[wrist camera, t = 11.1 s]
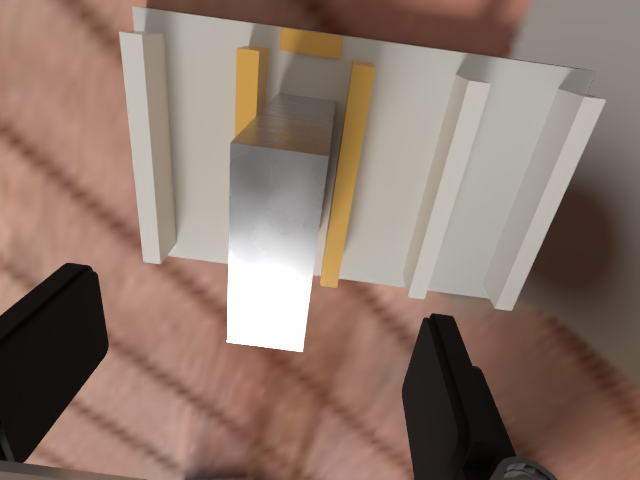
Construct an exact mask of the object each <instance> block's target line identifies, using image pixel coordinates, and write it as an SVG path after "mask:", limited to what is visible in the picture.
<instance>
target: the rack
mask: <svg viewBox="0 0 640 480" xmlns="http://www.w3.org/2000/svg"><path fill="white" fill-rule="evenodd" d="M132 10H133V22H134V31H125V32H119V35H120V44H121V54H122V63H123V73H124V82H125V92H126V101H127V111H128V120H129V130H130V139H131V149H132V158H133V168H134V177H135V186H136V196H137V205H138V215H139V224H140V234H141V243H142V253H143V262H148V263H155V264H161V263H162V262H163V260H164V259H165V258H166V256H174V257H182V258H189V259H197V260H204V261H212V262H219V263H227V264H228V255H229V185H230V142H231V141H232V140H233V139H234V138H235V137H236V136H237V135H238V134H239V133H240V132H241V131H242V130H243V129H244V128H245V127H246V126H247V125H248V124H249V123H250V122H251V121H252V120H253V119H254V118H255V117H256V116H257V115H258V114H259V113H260V112H261V110H262V109H263V108H264V107H265V106H266V105H267V104H268V103H269V102H270V101H271V100H272V99H273V98H274V97H275V96H276V95H277V94H278V93H282V94H289V95H297V96H304V97H311V98H318V99H326V100H333V101H335V109H334V118H333V126H332V135H331V144H330V152H329V160H328V167H327V175H326V182H325V189H324V197H323V204H322V211H321V219H320V226H319V233H318V241H317V248H316V255H315V262H314V270H313V275H317V276H321V281H320V286H328V287H335V288H337V285H338V279H347V280H354V281H362V282H369V283H376V284H384V285H391V286H399V287H405V288H406V292H407V296H408V297H410V298H418V299H425V296H426V293H427V290H429V291H436V292H444V293H451V294H459V295H466V296H474V297H481V298H489V299H490V301H491V302H492V304H493V306H494V308H495V309H500V310H508V311H512V309H513V307H514V304H515V302H516V300H517V298H518V296H519V293H520V291H521V289H522V287H523V284H524V282H525V279H526V278H527V275H528V273H529V271H530V269H531V266H532V264H533V262H534V260H535V258H536V255H537V253H538V251H539V249H540V247H541V244H542V242H543V240H544V237H545V235H546V233H547V230H548V229H549V226H550V224H551V222H552V220H553V217H554V215H555V213H556V211H557V209H558V206H559V204H560V202H561V200H562V197H563V195H564V193H565V191H566V189H567V186H568V184H569V182H570V180H571V177H572V175H573V173H574V171H575V169H576V166H577V164H578V162H579V160H580V157H581V155H582V153H583V151H584V148H585V146H586V144H587V142H588V139H589V137H590V135H591V133H592V131H593V128H594V126H595V124H596V122H597V120H598V117H599V115H600V113H601V110H602V108H603V106H604V104H605V102H606V100H605V99H602V98H598V97H595V96H591V95H588V94H587V92H588V90H589V88H590V85H591V83H592V81H593V78H594V76H595V73H596V71H591V70H585V69H579V68H572V67H565V66H558V65H551V64H543V63H536V62H529V61H523V60H515V59H508V58H501V57H494V56H487V55H480V54H473V53H466V52H459V51H451V50H444V49H437V48H430V47H423V46H416V45H409V44H402V43H395V42H387V41H380V40H373V39H366V38H359V37H352V36H345V35H338V34H331V33H324V32H316V31H309V30H302V29H295V28H288V27H281V26H274V25H267V24H260V23H252V22H245V21H238V20H231V19H224V18H217V17H210V16H203V15H196V14H188V13H181V12H174V11H167V10H160V9H153V8H146V7H135V6H132Z"/></svg>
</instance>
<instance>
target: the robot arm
mask: <svg viewBox="0 0 640 480" xmlns="http://www.w3.org/2000/svg"><path fill="white" fill-rule="evenodd" d="M108 346H109V344H108V337H107V330H106V324H105V317H104V311H103V305H102V298H101V292H100V285H99V279H98V274H97V273H96V272H94V271H93V270H92V268H91V267H90V266H88V265H81V264H74V263H66V264H64V265H63V266H61V267H60V268H59V269H58V270H57V271H55V272H54V273H53V274H52V275H50V276H49V277H48V278H47V279H45V280H44V281H43V282H42V283H40V284H39V285H38V286H37V287H35V288H34V289H33V290H32V291H30V292H29V293H28V294H27V295H25V296H24V297H23V298H22V299H20V300H19V301H18V302H17V303H15V304H14V305H13V306H12V307H10V308H9V309H8V310H7V311H5V312H4V313H3V314H2V315H1V316H0V480H146V479H139V478H132V477H124V476H117V475H109V474H102V473H94V472H86V471H79V470H71V469H64V468H56V467H48V466H41V465H33V464H26V463H23V462H25V461H26V460H27V458H28V457H29V456H30V455H31V453H32V452H33V451H34V449H35V448H36V447H37V445H38V444H39V443H40V441H41V440H42V439H43V438H44V436H45V435H46V434H47V432H48V431H49V430H50V428H51V427H52V426H53V424H54V423H55V422H56V420H57V419H58V418H59V416H60V415H61V414H62V412H63V411H64V410H65V408H66V407H67V406H68V405H69V403H70V402H71V401H72V399H73V398H74V397H75V395H76V394H77V393H78V391H79V390H80V389H81V387H82V386H83V385H84V383H85V382H86V381H87V379H88V378H89V377H90V375H91V374H92V373H93V372H94V370H95V369H96V368H97V366H98V365H99V364H100V362H101V361H102V360H103V358H104V357H105V355H106V353H107V351H108ZM402 399H403V406H404V412H405V419H406V425H407V432H408V438H409V445H410V451H411V458H412V464H413V471H414V478H415V480H557V478H556V477H555V476H554V475H553V474H552V473H550V472H549V471H548V470H547V469H546V468H544V467H543V466H541V465H540V464H538V463H536V462H534V461H533V460H529V459H526V458H523V457H517V456H516V454H515V451H514V449H513V446H512V444H511V442H510V439H509V437H508V434H507V432H506V429H505V427H504V424H503V422H502V419H501V417H500V414H499V412H498V409H497V407H496V404H495V402H494V399H493V397H492V395H491V392H490V390H489V387H488V385H487V382H486V380H485V377H484V375H483V373H482V371H481V369H480V368H478V367H475V366H472V364H471V361H470V358H469V356H468V353H467V351H466V348H465V345H464V343H463V340H462V337H461V335H460V332H459V330H458V327H457V324H456V322H455V319H454V317H453V316H449V315H442V314H434V313H433V314H431V316H430V318H426V317H425V318H424V319H423V321H422V324H421V328H420V331H419V334H418V337H417V341H416V344H415V347H414V350H413V354H412V357H411V360H410V363H409V367H408V370H407V373H406V376H405V380H404V383H403V388H402Z"/></svg>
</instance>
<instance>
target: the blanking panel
mask: <svg viewBox="0 0 640 480" xmlns="http://www.w3.org/2000/svg"><path fill="white" fill-rule="evenodd" d="M334 109H335V101H333V100H326V99H318V98H311V97H304V96H297V95H289V94H282V93H278V94H277V95H276V96H275V97H274V98H273V99H272V100H271V101H270V102H269V103H268V104H267V105H266V106H265V107H264V108H263V109H262V110H261V112H260V113H259V114H258V115H257V116H256V117H255V118H254V119H253V120H252V121H251V122H250V123H249V124H248V125H247V126H246V127H245V128H244V129H243V130H242V131H241V132H240V133H239V134H238V135H237V136H236V137H235V138H234V139H233V140H232V141H231V142H230V185H229V255H228V325H227V342H231V343H239V344H247V345H254V346H262V347H270V348H277V349H285V350H293V351H300V352H302V350H303V343H304V336H305V328H306V321H307V314H308V306H309V299H310V292H311V284H312V277H313V270H314V262H315V255H316V248H317V241H318V233H319V226H320V219H321V211H322V204H323V197H324V189H325V182H326V175H327V167H328V160H329V152H330V144H331V135H332V126H333V118H334Z"/></svg>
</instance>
